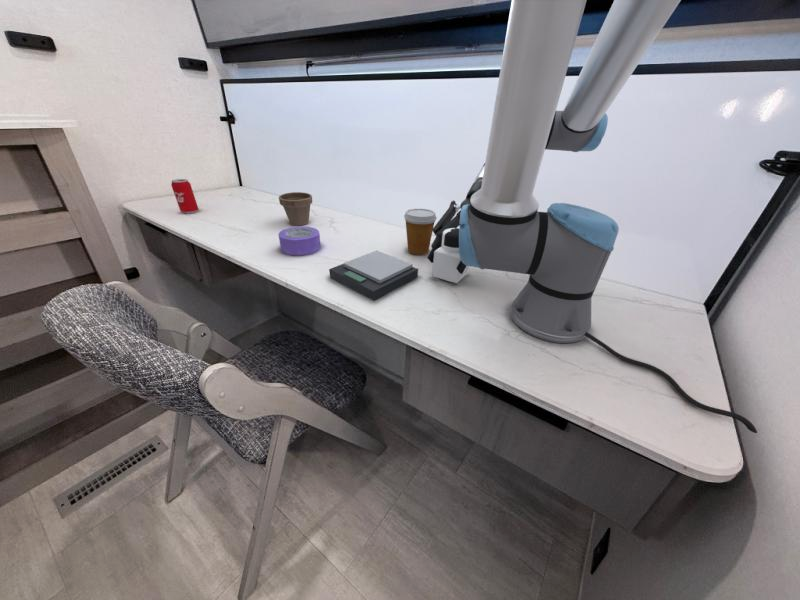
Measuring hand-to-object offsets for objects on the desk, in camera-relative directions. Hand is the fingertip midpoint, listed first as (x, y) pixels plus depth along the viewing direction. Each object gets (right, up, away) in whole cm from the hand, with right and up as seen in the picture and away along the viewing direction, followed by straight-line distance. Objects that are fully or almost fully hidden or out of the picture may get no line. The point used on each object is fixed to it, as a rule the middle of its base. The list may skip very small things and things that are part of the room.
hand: (444, 265), depth 75 cm
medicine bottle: (+2, -2, +4) cm, 5 cm away
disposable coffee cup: (-5, +7, +19) cm, 21 cm away
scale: (-18, -3, +3) cm, 18 cm away
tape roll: (-41, +7, +19) cm, 46 cm away
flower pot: (-49, +20, +39) cm, 65 cm away
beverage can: (-95, +27, +47) cm, 110 cm away
